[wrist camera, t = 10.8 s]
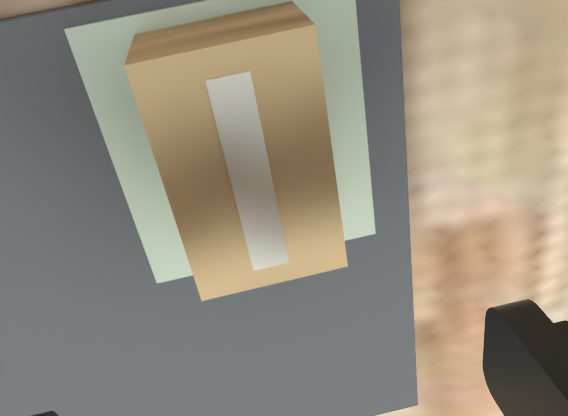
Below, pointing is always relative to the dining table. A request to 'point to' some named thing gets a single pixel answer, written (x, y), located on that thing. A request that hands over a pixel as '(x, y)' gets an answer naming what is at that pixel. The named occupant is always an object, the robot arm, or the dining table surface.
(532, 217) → the dining table surface
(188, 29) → the oak block
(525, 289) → the dining table surface
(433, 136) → the dining table surface
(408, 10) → the dining table surface
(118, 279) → the rubber mat
